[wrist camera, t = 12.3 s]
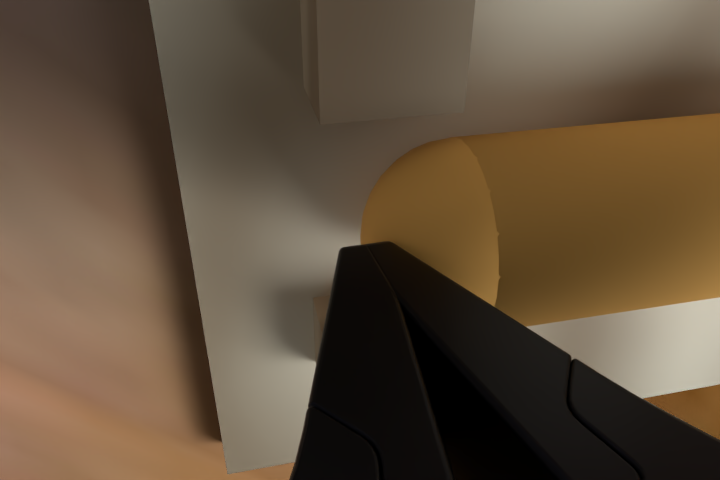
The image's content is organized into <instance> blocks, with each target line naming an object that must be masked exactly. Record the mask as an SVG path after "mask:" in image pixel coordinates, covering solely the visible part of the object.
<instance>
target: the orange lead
mask: <svg viewBox="0 0 720 480" xmlns="http://www.w3.org/2000/svg"><path fill="white" fill-rule="evenodd" d="M383 241H390V242H393V243H394V244H396V245H398V246H399V247H401V248H402V249H404V250H405V251H407V252H409V253H410V254H412V255H413V256H415V257H417V258H418V259H420V260H421V261H423V262H424V263H426V264H428V265H429V266H431V267H432V268H434V269H435V270H437V271H439V272H440V273H442V274H443V275H445V276H447V277H448V278H450V279H451V280H453V281H454V282H456V283H458V284H459V285H461V286H462V287H464V288H465V289H467V290H469V291H470V292H472V293H473V294H475V295H477V296H478V297H480V298H481V299H483V300H484V301H486V302H488V303H489V304H491V305H492V306H494V307H495V308H497V309H499V310H500V311H502V312H503V313H505V314H507V315H508V316H510V317H511V318H513V319H514V320H516V321H518V322H519V323H521V324H522V325H524V326H525V327H527V326H534V325H540V324H547V323H553V322H560V321H567V320H573V319H580V318H587V317H593V316H600V315H606V314H613V313H620V312H626V311H633V310H639V309H646V308H653V307H659V306H666V305H673V304H679V303H686V302H692V301H699V300H706V299H712V298H719V297H720V113H715V114H704V115H693V116H682V117H671V118H660V119H648V120H637V121H626V122H615V123H604V124H593V125H582V126H570V127H559V128H548V129H537V130H526V131H515V132H504V133H493V134H481V135H470V136H459V137H449V138H446V139H441V140H436V141H431V142H428V143H425V144H423V145H421V146H418V147H416V148H413V149H411V150H410V151H409V152H407V153H406V154H404V155H403V156H401V157H400V158H398V159H397V160H396V161H395V162H394V163H393V164H392V165H391V166H390V167H389V168H388V169H387V170H386V171H385V172H384V173H383V174H382V175H381V176H380V178H379V180H378V181H377V183H376V184H375V186H374V188H373V189H372V191H371V193H370V195H369V197H368V200H367V203H366V206H365V209H364V211H363V216H362V224H361V233H360V242H361V245H362V244H369V243H376V242H383Z"/></svg>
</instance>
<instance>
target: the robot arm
mask: <svg viewBox="0 0 720 480" xmlns="http://www.w3.org/2000/svg"><path fill="white" fill-rule="evenodd" d="M289 480H720V440H719V439H717V438H715V437H713V436H711V435H709V434H707V433H705V432H703V431H701V430H699V429H698V428H696V427H694V426H692V425H690V424H688V423H686V422H684V421H682V420H680V419H679V418H677V417H675V416H673V415H671V414H669V413H668V412H666V411H664V410H662V409H660V408H659V407H657V406H655V405H653V404H651V403H649V402H648V401H646V400H644V399H642V398H640V397H638V396H637V395H635V394H633V393H632V392H630V391H628V390H627V389H625V388H623V387H622V386H620V385H618V384H617V383H615V382H613V381H612V380H610V379H608V378H607V377H605V376H603V375H602V374H600V373H599V372H597V371H595V370H594V369H592V368H591V367H589V366H587V365H586V364H584V363H583V362H581V361H580V360H578V359H573V360H572V357H571V355H570V354H568V353H567V352H565V351H563V350H562V349H560V348H559V347H557V346H555V345H554V344H552V343H551V342H549V341H548V340H546V339H544V338H543V337H541V336H540V335H538V334H537V333H535V332H533V331H532V330H530V329H529V328H527V327H525V326H524V325H522V324H521V323H519V322H518V321H516V320H514V319H513V318H511V317H510V316H508V315H507V314H505V313H503V312H502V311H500V310H499V309H497V308H495V307H494V306H492V305H491V304H489V303H488V302H486V301H484V300H483V299H481V298H480V297H478V296H477V295H475V294H473V293H472V292H470V291H469V290H467V289H465V288H464V287H462V286H461V285H459V284H458V283H456V282H454V281H453V280H451V279H450V278H448V277H447V276H445V275H443V274H442V273H440V272H439V271H437V270H435V269H434V268H432V267H431V266H429V265H428V264H426V263H424V262H423V261H421V260H420V259H418V258H417V257H415V256H413V255H412V254H410V253H409V252H407V251H405V250H404V249H402V248H401V247H399V246H398V245H396V244H394V243H393V242H390V241H383V242H376V243H369V244H362V245H354V246H347V247H342V248H341V249H340V250H339V253H338V258H337V263H336V268H335V273H334V278H333V283H332V288H331V293H330V298H329V303H328V308H327V313H326V318H325V323H324V328H323V333H322V338H321V343H320V348H319V353H318V358H317V363H316V368H315V373H314V378H313V383H312V388H311V393H310V398H309V403H308V409H307V411H306V416H305V421H304V426H303V431H302V435H301V439H300V443H299V447H298V451H297V455H296V459H295V463H294V467H293V470H292V473H291V476H290V479H289Z"/></svg>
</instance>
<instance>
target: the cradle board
mask: <svg viewBox="0 0 720 480" xmlns="http://www.w3.org/2000/svg"><path fill="white" fill-rule="evenodd" d="M149 5H150V11H151V17H152V23H153V29H154V35H155V41H156V47H157V53H158V59H159V65H160V71H161V77H162V83H163V89H164V95H165V101H166V107H167V113H168V119H169V125H170V131H171V137H172V143H173V149H174V155H175V161H176V167H177V173H178V180H179V186H180V192H181V198H182V204H183V210H184V216H185V222H186V228H187V234H188V240H189V246H190V252H191V258H192V264H193V270H194V276H195V282H196V288H197V294H198V300H199V306H200V312H201V318H202V324H203V330H204V336H205V342H206V348H207V354H208V360H209V366H210V372H211V378H212V384H213V390H214V396H215V402H216V408H217V414H218V420H219V426H220V432H221V438H222V444H223V450H224V456H225V462H226V468H227V474H232V473H237V472H243V471H248V470H254V469H259V468H265V467H270V466H276V465H281V464H286V463H292V462H295V459H296V455H297V451H298V447H299V443H300V439H301V435H302V431H303V426H304V421H305V416H306V411H307V409H308V403H309V398H310V393H311V388H312V383H313V378H314V373H315V368H316V363H317V358H318V353H319V348H320V343H321V338H322V333H323V328H324V323H325V318H326V313H327V308H328V303H329V298H330V293H331V288H332V283H333V278H334V273H335V268H336V263H337V258H338V253H339V250H340V249H341V248H342V247H347V246H354V245H361V242H360V233H361V224H362V216H363V211H364V209H365V206H366V203H367V200H368V197H369V195H370V193H371V191H372V189H373V188H374V186H375V184H376V183H377V181H378V180H379V178H380V176H381V175H382V174H383V173H384V172H385V171H386V170H387V169H388V168H389V167H390V166H391V165H392V164H393V163H394V162H395V161H396V160H397V159H398V158H400V157H401V156H403V155H404V154H406V153H407V152H409V151H410V150H411V149H413V148H416V147H418V146H421V145H423V144H425V143H428V142H431V141H436V140H441V139H446V138H449V137H459V136H470V135H481V134H493V133H504V132H515V131H526V130H537V129H548V128H559V127H570V126H582V125H593V124H604V123H615V122H626V121H637V120H648V119H660V118H671V117H682V116H693V115H704V114H715V113H720V0H149ZM527 328H529V329H530V330H532V331H533V332H535V333H537V334H538V335H540V336H541V337H543V338H544V339H546V340H548V341H549V342H551V343H552V344H554V345H555V346H557V347H559V348H560V349H562V350H563V351H565V352H567V353H568V354H570V355H571V357H572V360H573V359H578V360H580V361H581V362H583V363H584V364H586V365H587V366H589V367H591V368H592V369H594V370H595V371H597V372H599V373H600V374H602V375H603V376H605V377H607V378H608V379H610V380H612V381H613V382H615V383H617V384H618V385H620V386H622V387H623V388H625V389H627V390H628V391H630V392H632V393H633V394H635V395H637V396H638V397H640V398H647V397H653V396H658V395H663V394H669V393H674V392H680V391H685V390H691V389H696V388H702V387H707V386H713V385H718V384H720V297H719V298H712V299H706V300H699V301H692V302H686V303H679V304H673V305H666V306H659V307H653V308H646V309H639V310H633V311H626V312H620V313H613V314H606V315H600V316H593V317H587V318H580V319H573V320H567V321H560V322H553V323H547V324H540V325H534V326H527Z"/></svg>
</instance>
